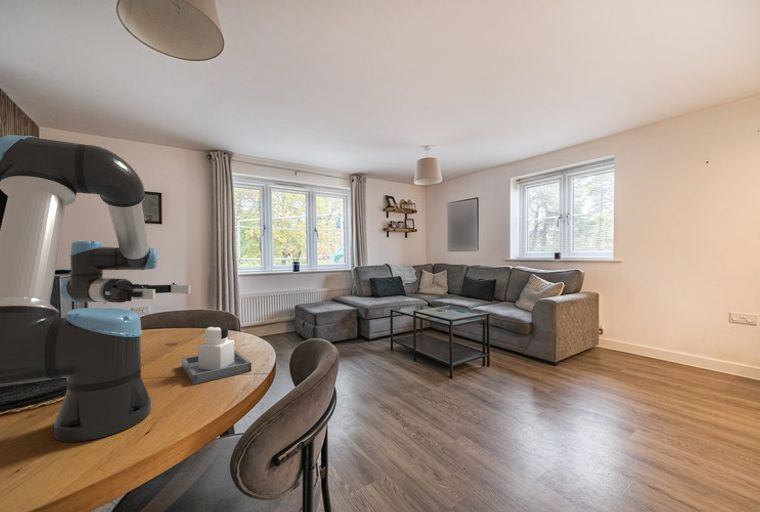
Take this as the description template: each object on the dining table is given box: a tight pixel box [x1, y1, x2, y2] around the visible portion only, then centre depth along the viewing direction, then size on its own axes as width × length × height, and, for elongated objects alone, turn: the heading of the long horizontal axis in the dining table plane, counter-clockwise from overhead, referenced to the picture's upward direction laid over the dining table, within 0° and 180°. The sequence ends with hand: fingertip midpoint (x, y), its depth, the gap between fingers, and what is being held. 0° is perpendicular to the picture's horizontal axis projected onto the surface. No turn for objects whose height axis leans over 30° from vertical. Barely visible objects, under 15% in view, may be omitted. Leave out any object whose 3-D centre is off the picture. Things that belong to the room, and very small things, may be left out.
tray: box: [181, 348, 252, 385], centre depth 95 cm, size 17×15×2 cm
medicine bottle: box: [197, 324, 235, 370], centre depth 95 cm, size 7×7×12 cm
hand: (173, 291), depth 96 cm, fingers open, 13 cm apart
